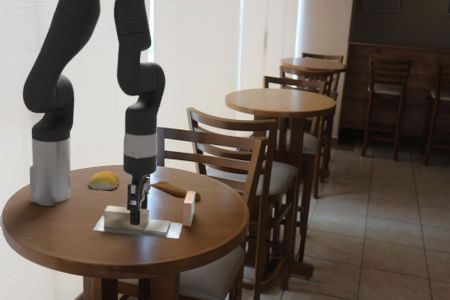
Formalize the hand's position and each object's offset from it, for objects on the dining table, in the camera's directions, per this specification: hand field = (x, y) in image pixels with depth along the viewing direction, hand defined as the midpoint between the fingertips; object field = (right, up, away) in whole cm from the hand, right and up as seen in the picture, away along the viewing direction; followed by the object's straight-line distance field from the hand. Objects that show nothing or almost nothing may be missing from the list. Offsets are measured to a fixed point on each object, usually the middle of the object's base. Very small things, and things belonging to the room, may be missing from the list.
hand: (138, 216), depth 110 cm
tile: (+11, -3, +8) cm, 14 cm away
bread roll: (-15, +5, +27) cm, 32 cm away
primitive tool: (+5, +3, +26) cm, 27 cm away
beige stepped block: (-1, -2, +1) cm, 3 cm away
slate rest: (0, -3, +1) cm, 4 cm away
